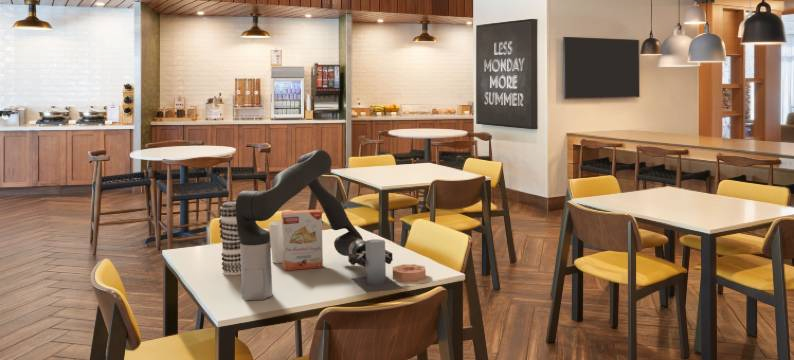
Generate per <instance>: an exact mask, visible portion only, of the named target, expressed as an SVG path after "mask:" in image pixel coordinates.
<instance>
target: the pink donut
mask: <svg viewBox="0 0 794 360" xmlns="http://www.w3.org/2000/svg"><path fill="white" fill-rule="evenodd" d="M426 277H427V276H426V266H424V265H420V264H411V263H409V264H398V265H395V266H392V280H393V281H394V280H395V281H398V282H407V283H408V282H409V283H410V282H411V283H412V282H419V281H422V280H426Z"/></svg>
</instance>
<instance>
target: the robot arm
mask: <svg viewBox="0 0 794 360" xmlns="http://www.w3.org/2000/svg"><path fill="white" fill-rule="evenodd" d="M331 157H332V156H331V155H330V154H329V153H328V151H326V150H323V149H316V150H312V151H311V152H308V153H306V154H303V155H301V156H300V157H298V159H297V163H296V164H294V165H290V166H289V167H287V168H285V169H283V170H282V171H280V172H279V173H277V174H276V175H275V176H274V177H273V179H272V182H271V188H270V189H267V190H263V191H262V190H242V191H240V192H239V193H238V194H237V197H236V200H235V202H236V204H235V211H236V221H237V231H238V235H239V238H240V255H241V274H240V275H241V276H240V277H241V293H242V295H241V297H242V298H243V299H244V301H264V300H265V301H266V299H268V297H269V298H270V297H272V296H273V280H272V279H273V278H272V276H273V275H272V250H271V245H270V234H269V232H268V231H266V230H264V229H265V228H264V229H262V227H261V226H260V225H258V223H257V222H265V221H268V220H270V219H271V218H272V217H273V216H274V215H275V214H276V213H277V212H278V211H279V210H280V209H281V208H282V207H283V206H284V205H285V204H286V203H288V202H289V200H291V199H292V198H294V197H296V196H297V195H298V194H299V193H301V192H302V191H303V190H304V189H305V188H307V187H308V188H309V190H310V191H311V193H312V194H313V195H314V197H315V199H316V200H317V201H318V203H319V204H320V206H321V208H322V210H323V212H324V214H325V217H326V219H327V221H328V223H329V226H330V228H331V229H332V230H333V231H339V230H343V229H345V230H347V232H346V233H343V234H341V235H339V236H338V237H336V238H335V240H334V242H333V245H334V248H335V251H336V252H337V253H338V254H339V255H341V256H345V257H348V259H347V261H348V263H350V264H351V266H355V265H356V264H357V265H358V266H362V267H365V268H366V243H365V242H366V241H367V240H364V239H363V236H362V235H361V233H360V232H359V231H358V229H356V228H355V227H354V225H353V224H352V222H351V221H350V219H349V217H348V215H347V213H346V210H345V208H344V206H343V204H342V203H341V201H340V200H339V199H338V198H337V197H336V196H335V195H333V194H332V193H331V192H330V191H328V190H327V188H325V187H324V186H323V185H322V183H321V182H320V180H319V177H321V176H323V175H326V174H327V173H329V172H330V170H331V169H332V168H331V167H332V164H333V163H332V162H333V161H332V158H331ZM393 260H394V259H393V253H392V252H391V251H389V250H387V249H385V263H386V264H388V265H391V263H392V261H393Z"/></svg>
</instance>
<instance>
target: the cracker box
mask: <svg viewBox="0 0 794 360" xmlns="http://www.w3.org/2000/svg"><path fill="white" fill-rule="evenodd" d="M322 214H323V212H322V211H321V210H320V209H303V210H300V209H299V210H286V211H285V210H283V211H281V221H282V247H283V263H282V268H283V269H284V271H294V270H295V271H296V270H305V269H306V270H308V269H323V267H324V265H323V264H324V259H323V258H324V257H323V256H324V254H323V253H324V251H323V215H322Z"/></svg>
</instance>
